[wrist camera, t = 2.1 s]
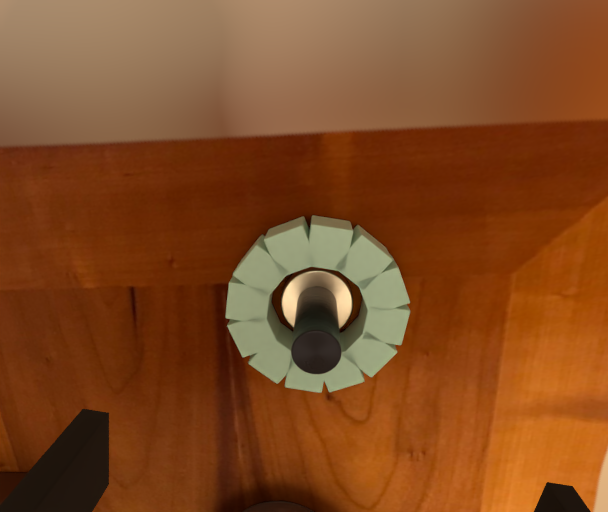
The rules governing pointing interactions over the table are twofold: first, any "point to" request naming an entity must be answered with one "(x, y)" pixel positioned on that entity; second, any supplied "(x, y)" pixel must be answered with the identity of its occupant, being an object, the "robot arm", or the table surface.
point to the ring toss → (316, 317)
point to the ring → (328, 255)
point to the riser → (9, 483)
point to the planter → (277, 507)
